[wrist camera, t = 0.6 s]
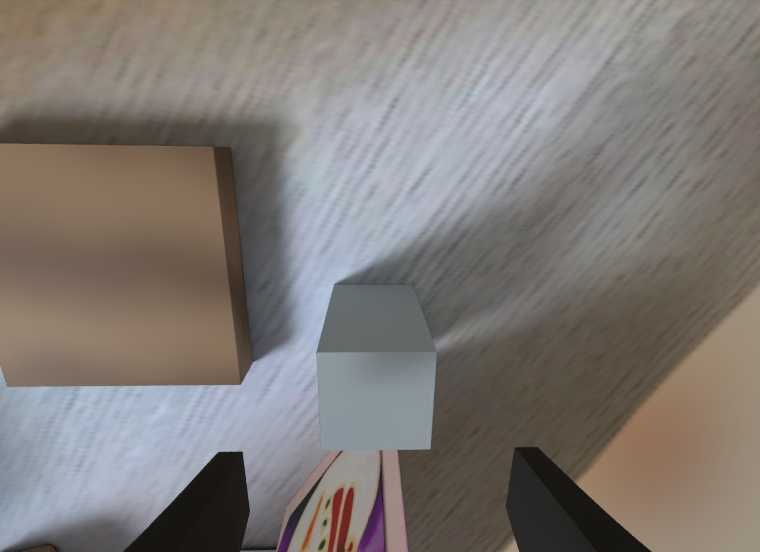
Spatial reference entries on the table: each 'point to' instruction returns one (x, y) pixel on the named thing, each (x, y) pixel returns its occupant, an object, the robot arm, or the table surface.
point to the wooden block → (41, 549)
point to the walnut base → (120, 267)
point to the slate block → (375, 370)
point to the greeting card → (348, 506)
